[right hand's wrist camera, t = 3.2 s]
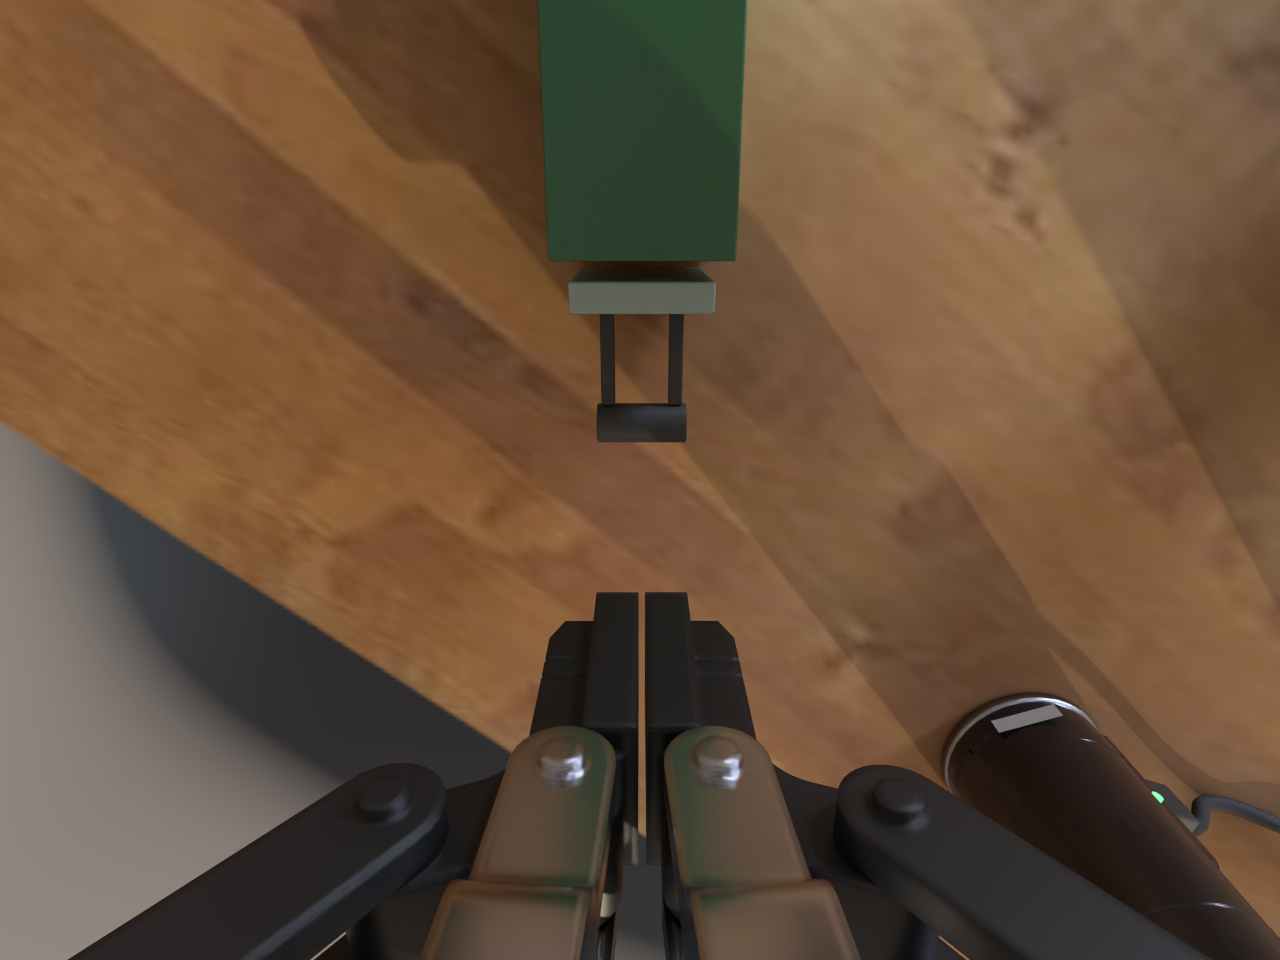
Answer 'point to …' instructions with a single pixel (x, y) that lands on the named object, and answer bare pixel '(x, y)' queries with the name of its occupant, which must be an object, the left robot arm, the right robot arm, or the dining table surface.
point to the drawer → (641, 295)
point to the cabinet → (642, 128)
